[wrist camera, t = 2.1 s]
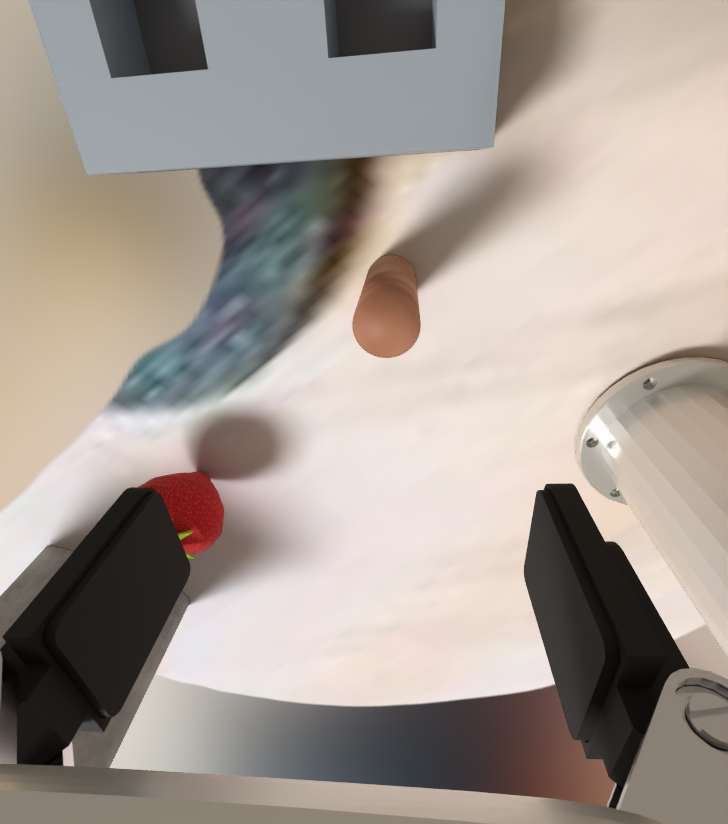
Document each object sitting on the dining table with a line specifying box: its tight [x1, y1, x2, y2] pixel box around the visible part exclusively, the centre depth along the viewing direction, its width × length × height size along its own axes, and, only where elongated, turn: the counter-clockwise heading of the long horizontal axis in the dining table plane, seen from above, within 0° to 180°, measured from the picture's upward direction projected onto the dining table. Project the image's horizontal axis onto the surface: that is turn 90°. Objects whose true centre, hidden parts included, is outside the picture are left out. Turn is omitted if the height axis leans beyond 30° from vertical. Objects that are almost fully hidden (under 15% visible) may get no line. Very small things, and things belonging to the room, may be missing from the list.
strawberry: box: [138, 472, 224, 559], centre depth 33 cm, size 6×8×10 cm
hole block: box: [29, 0, 505, 175], centre depth 20 cm, size 20×12×5 cm, turn 93°
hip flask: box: [0, 546, 189, 768], centre depth 37 cm, size 16×4×20 cm, turn 64°
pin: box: [353, 255, 420, 358], centre depth 24 cm, size 3×3×9 cm
